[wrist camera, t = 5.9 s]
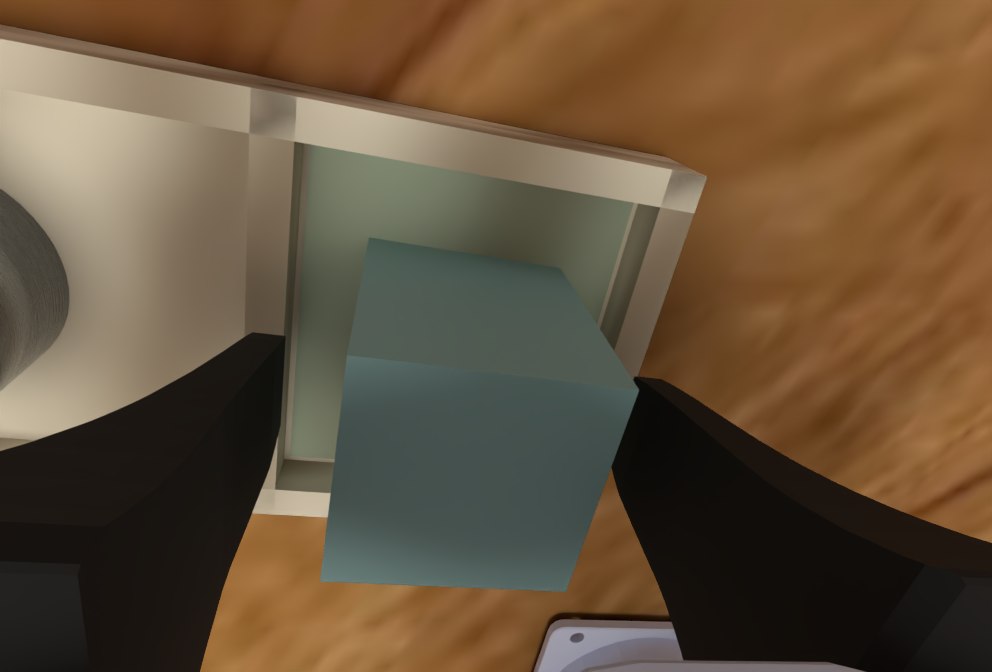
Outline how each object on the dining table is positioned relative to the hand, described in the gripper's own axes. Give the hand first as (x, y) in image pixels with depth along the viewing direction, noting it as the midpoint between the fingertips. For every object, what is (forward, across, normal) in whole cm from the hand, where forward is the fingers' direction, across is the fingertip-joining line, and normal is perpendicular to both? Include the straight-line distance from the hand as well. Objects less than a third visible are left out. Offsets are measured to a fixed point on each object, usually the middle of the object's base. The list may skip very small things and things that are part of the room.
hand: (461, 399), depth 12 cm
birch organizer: (+4, +6, 0) cm, 7 cm away
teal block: (+3, 0, 0) cm, 3 cm away
